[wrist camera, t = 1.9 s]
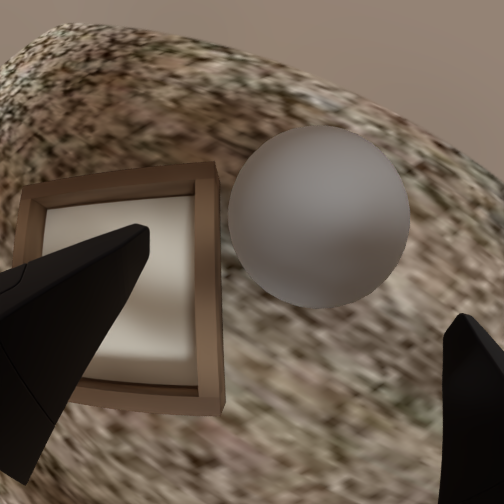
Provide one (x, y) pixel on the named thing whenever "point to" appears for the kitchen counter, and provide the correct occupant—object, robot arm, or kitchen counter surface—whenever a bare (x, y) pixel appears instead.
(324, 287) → the lightbulb
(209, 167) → the walnut tray
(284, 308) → the kitchen counter surface
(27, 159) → the kitchen counter surface
